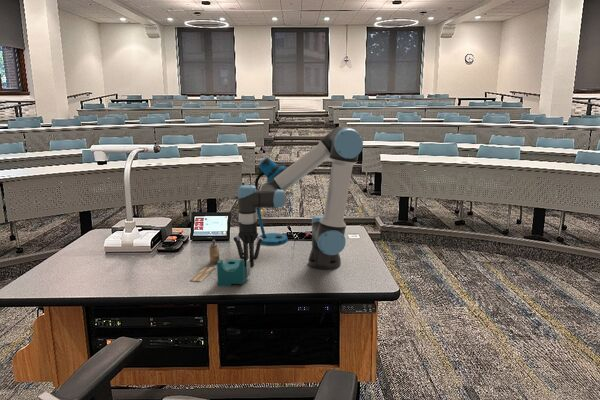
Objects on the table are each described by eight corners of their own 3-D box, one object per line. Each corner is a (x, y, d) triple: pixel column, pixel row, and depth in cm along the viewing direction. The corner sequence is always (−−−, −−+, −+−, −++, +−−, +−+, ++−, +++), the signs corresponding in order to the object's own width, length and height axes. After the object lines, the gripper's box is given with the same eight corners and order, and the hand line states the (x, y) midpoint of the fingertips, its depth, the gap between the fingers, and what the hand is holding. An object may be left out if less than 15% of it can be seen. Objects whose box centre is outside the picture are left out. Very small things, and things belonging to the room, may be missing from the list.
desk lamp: (297, 245, 253) (296, 159, 243) (255, 245, 253) (252, 160, 242) (296, 235, 269) (296, 155, 259) (257, 236, 269) (254, 155, 258)
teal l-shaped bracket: (243, 286, 202) (242, 263, 200) (218, 286, 203) (217, 262, 200) (251, 270, 219) (250, 248, 217) (227, 270, 220) (226, 248, 218)
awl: (220, 261, 231) (219, 238, 228) (217, 264, 227) (216, 241, 224) (212, 260, 232) (211, 238, 229) (208, 264, 228) (207, 241, 225)
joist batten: (215, 268, 222) (215, 267, 222) (200, 282, 207) (200, 281, 207) (204, 267, 223) (204, 266, 223) (189, 281, 208) (189, 280, 208)
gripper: (265, 220, 206) (266, 272, 212) (236, 218, 209) (238, 269, 215) (260, 225, 199) (261, 278, 205) (230, 223, 202) (232, 276, 208)
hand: (249, 274), depth 210 cm, fingers closed
